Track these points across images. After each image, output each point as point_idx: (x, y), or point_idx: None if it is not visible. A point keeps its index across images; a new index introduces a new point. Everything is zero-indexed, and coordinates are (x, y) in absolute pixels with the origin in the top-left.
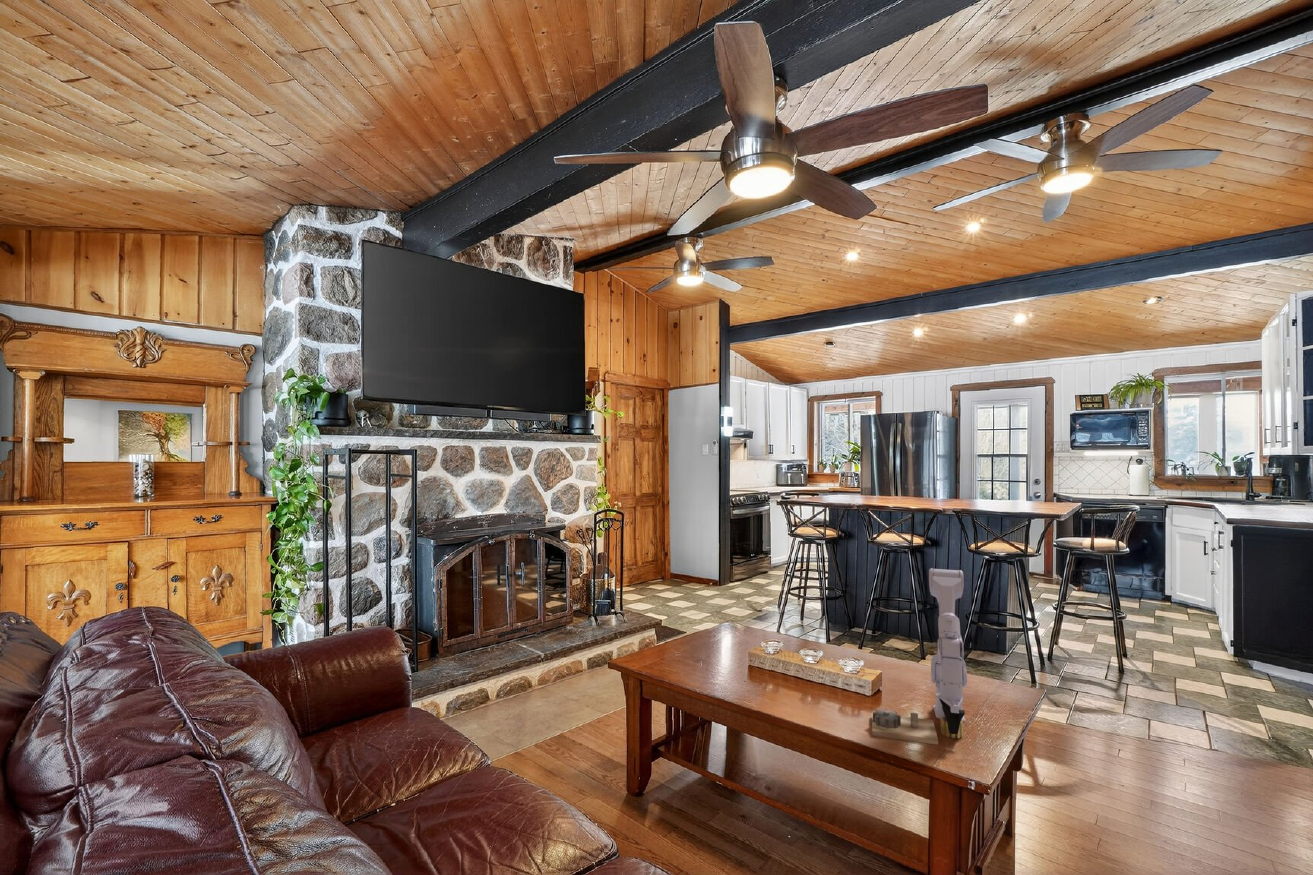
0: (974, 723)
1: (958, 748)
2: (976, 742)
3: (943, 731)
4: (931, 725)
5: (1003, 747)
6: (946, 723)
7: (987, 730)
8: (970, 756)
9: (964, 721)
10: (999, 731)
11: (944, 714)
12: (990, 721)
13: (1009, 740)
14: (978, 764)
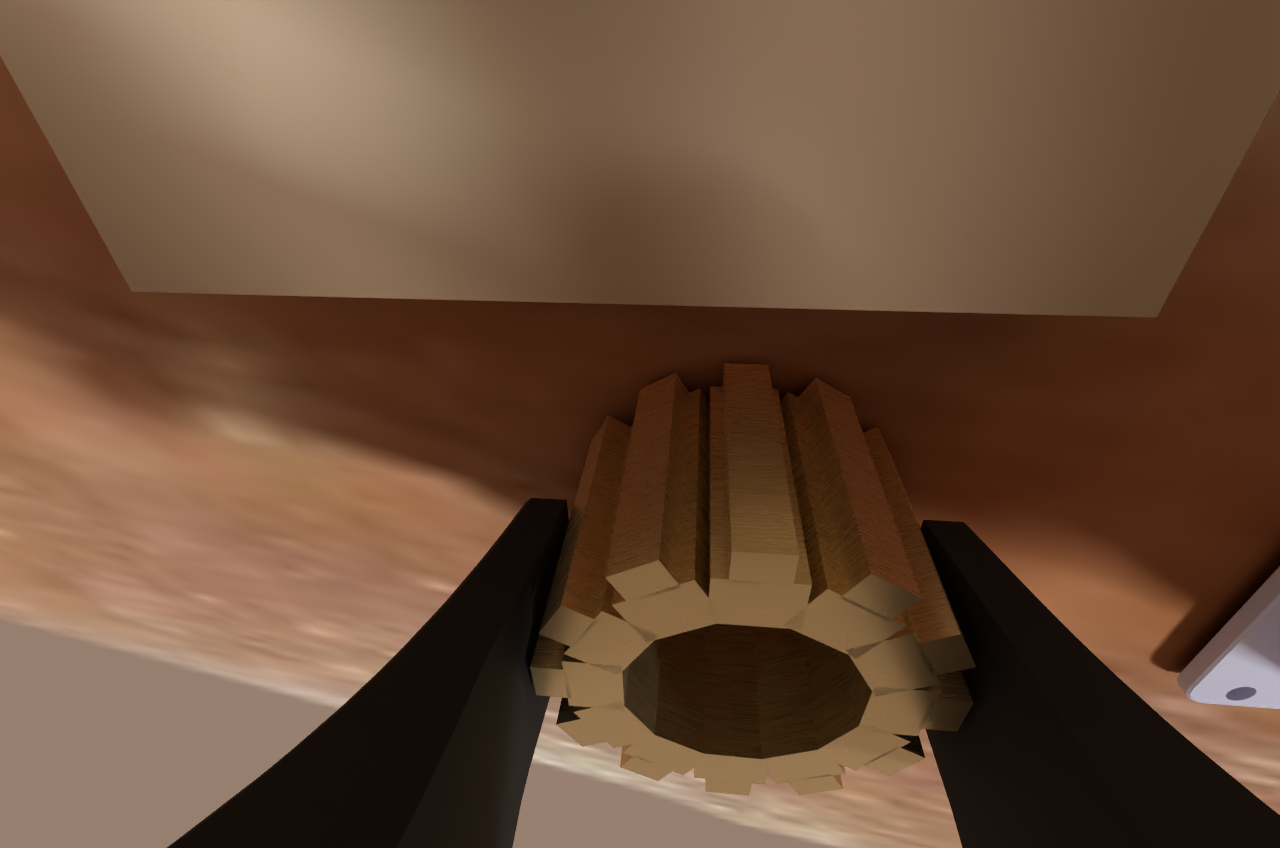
0: None
1: (321, 484)
2: None
3: (643, 419)
4: (803, 243)
5: (578, 765)
6: (560, 585)
7: (927, 764)
8: (201, 549)
9: (1178, 677)
10: (912, 812)
11: (1024, 652)
12: None
13: (735, 814)
14: (79, 572)
